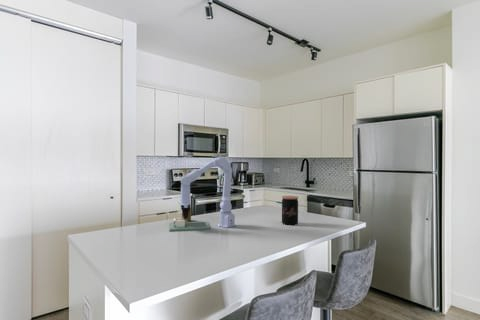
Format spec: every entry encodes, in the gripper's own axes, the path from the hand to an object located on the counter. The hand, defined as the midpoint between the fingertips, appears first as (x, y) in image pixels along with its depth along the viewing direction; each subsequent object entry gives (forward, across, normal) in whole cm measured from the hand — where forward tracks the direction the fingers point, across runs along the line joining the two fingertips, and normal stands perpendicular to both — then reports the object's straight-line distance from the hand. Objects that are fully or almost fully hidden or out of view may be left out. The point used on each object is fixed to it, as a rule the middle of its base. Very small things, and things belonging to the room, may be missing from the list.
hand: (185, 217), depth 174 cm
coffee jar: (+6, +4, +68) cm, 69 cm away
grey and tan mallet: (+5, 0, 0) cm, 5 cm away
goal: (+5, 0, -4) cm, 6 cm away
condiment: (+6, -16, +2) cm, 18 cm away
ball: (+3, 0, -4) cm, 5 cm away
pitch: (+6, 0, +2) cm, 7 cm away
